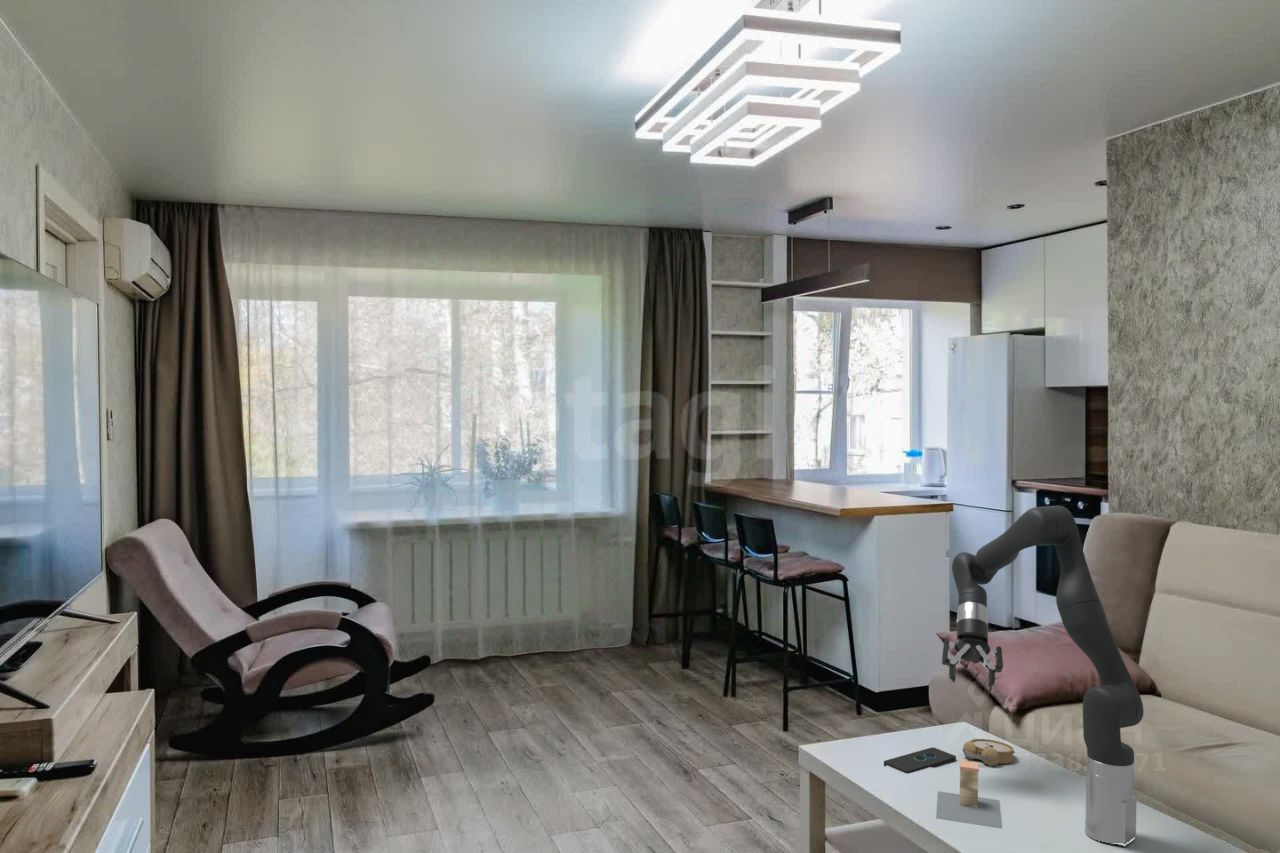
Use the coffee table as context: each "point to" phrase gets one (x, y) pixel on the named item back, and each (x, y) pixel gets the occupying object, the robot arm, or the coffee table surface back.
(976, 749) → the alarm clock
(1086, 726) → the robot arm
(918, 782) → the coffee table surface
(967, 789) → the birch block
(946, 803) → the rubber mat
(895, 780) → the coffee table surface
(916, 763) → the smart home device
